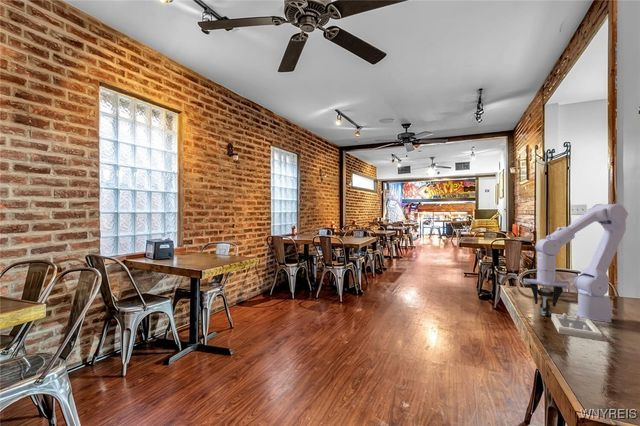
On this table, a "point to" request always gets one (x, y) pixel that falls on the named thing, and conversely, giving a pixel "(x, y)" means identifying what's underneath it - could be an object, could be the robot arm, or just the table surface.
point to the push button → (545, 300)
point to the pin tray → (575, 326)
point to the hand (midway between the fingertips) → (544, 304)
